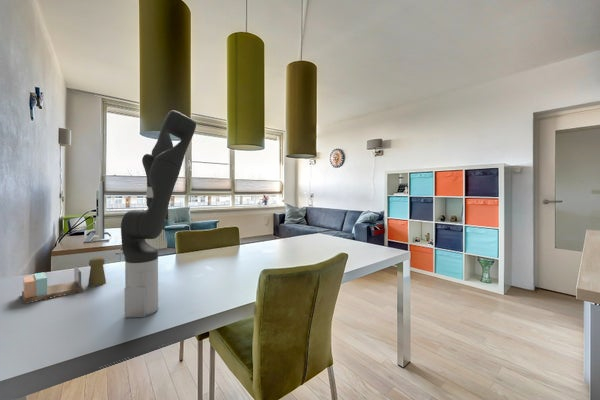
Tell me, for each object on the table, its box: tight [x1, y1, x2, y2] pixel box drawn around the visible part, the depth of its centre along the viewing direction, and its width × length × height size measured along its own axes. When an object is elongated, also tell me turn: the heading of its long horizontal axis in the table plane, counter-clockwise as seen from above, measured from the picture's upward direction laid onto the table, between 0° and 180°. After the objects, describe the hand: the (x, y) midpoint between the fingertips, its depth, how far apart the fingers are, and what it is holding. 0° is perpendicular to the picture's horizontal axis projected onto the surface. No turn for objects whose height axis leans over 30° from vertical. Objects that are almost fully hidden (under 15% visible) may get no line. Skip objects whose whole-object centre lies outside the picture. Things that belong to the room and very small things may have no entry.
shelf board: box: [21, 280, 84, 304], centre depth 100 cm, size 16×11×2 cm
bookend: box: [73, 266, 82, 287], centre depth 105 cm, size 1×9×6 cm, turn 48°
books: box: [22, 271, 48, 298], centre depth 96 cm, size 6×9×6 cm, turn 49°
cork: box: [87, 256, 107, 287], centre depth 110 cm, size 6×6×11 cm
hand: (155, 230), depth 126 cm, fingers open, 8 cm apart
